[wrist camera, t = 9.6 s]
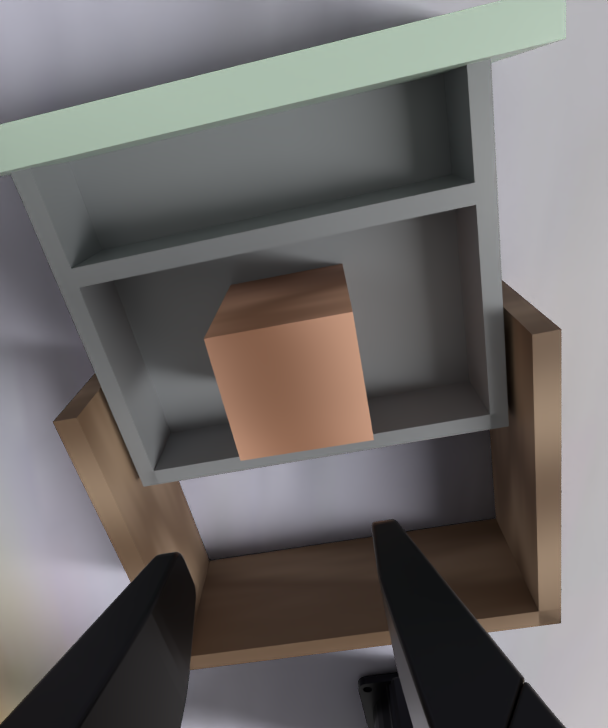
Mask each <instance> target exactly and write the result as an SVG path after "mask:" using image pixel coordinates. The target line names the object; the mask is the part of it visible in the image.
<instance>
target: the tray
mask: <svg viewBox="0 0 608 728" xmlns="http://www.w3.org/2000/svg"><path fill="white" fill-rule="evenodd" d="M563 39H566V0H501V1H497V2H493V3H489V4H485V5H481V6H477V7H473V8H469V9H465V10H461V11H457V12H453V13H449V14H445V15H441V16H437V17H432V18H428V19H424V20H420V21H416V22H412V23H408V24H404V25H400V26H396V27H392V28H388V29H384V30H380V31H376V32H372V33H368V34H364V35H360V36H356V37H352V38H348V39H343V40H339V41H335V42H331V43H327V44H323V45H319V46H315V47H311V48H307V49H303V50H299V51H295V52H291V53H287V54H283V55H279V56H275V57H271V58H267V59H263V60H259V61H254V62H250V63H246V64H242V65H238V66H234V67H230V68H226V69H222V70H218V71H214V72H210V73H206V74H202V75H198V76H194V77H190V78H186V79H182V80H178V81H174V82H170V83H165V84H161V85H157V86H153V87H149V88H145V89H141V90H137V91H133V92H129V93H125V94H121V95H117V96H113V97H109V98H105V99H101V100H97V101H93V102H89V103H85V104H81V105H77V106H72V107H68V108H64V109H60V110H56V111H52V112H48V113H44V114H40V115H36V116H32V117H28V118H24V119H20V120H16V121H12V122H8V123H4V124H0V177H2V176H7V175H11V176H12V179H13V181H14V183H15V186H16V188H17V190H18V193H19V195H20V197H21V200H22V202H23V204H24V207H25V209H26V211H27V214H28V216H29V219H30V221H31V223H32V226H33V228H34V230H35V233H36V235H37V237H38V240H39V242H40V244H41V247H42V249H43V251H44V254H45V256H46V258H47V261H48V263H49V266H50V268H51V270H52V273H53V275H54V277H55V280H56V282H57V284H58V287H59V289H60V291H61V294H62V296H63V298H64V301H65V303H66V305H67V308H68V310H69V313H70V315H71V317H72V320H73V322H74V324H75V327H76V329H77V331H78V334H79V336H80V338H81V341H82V343H83V345H84V348H85V350H86V352H87V355H88V357H89V360H90V362H91V364H92V367H93V369H94V371H95V374H96V376H97V378H98V381H99V383H100V385H101V388H102V390H103V392H104V395H105V397H106V399H107V402H108V404H109V407H110V409H111V411H112V414H113V416H114V418H115V421H116V423H117V425H118V428H119V430H120V432H121V435H122V437H123V439H124V442H125V444H126V446H127V449H128V451H129V454H130V456H131V458H132V461H133V463H134V465H135V468H136V470H137V472H138V475H139V477H140V479H141V482H142V484H143V486H144V487H145V486H151V485H157V484H163V483H169V482H175V481H181V480H187V479H193V478H199V477H205V476H211V475H217V474H224V473H230V472H236V471H242V470H248V469H254V468H260V467H266V466H272V465H278V464H284V463H290V462H296V461H302V460H308V459H314V458H320V457H326V456H332V455H338V454H344V453H350V452H357V451H363V450H369V449H375V448H381V447H387V446H393V445H399V444H405V443H411V442H417V441H423V440H429V439H435V438H441V437H447V436H453V435H459V434H465V433H471V432H477V431H484V430H490V429H496V428H502V427H508V426H509V419H508V398H507V378H506V357H505V337H504V316H503V296H502V275H501V255H500V234H499V214H498V193H497V173H496V152H495V132H494V111H493V91H492V70H491V63H493V62H496V61H499V60H502V59H505V58H508V57H511V56H514V55H517V54H521V53H524V52H527V51H530V50H533V49H536V48H539V47H542V46H545V45H548V44H551V43H554V42H557V41H560V40H563ZM338 264H343V269H344V274H345V278H346V283H347V288H348V292H349V297H350V301H351V306H352V311H353V316H354V322H355V328H356V335H357V341H358V347H359V353H360V359H361V365H362V371H363V377H364V383H365V389H366V395H367V401H368V407H369V413H370V419H371V425H372V431H373V437H374V440H371V441H364V442H358V443H351V444H345V445H339V446H332V447H326V448H319V449H313V450H307V451H300V452H294V453H287V454H281V455H275V456H268V457H262V458H255V459H249V460H243V461H240V457H239V454H238V451H237V447H236V444H235V441H234V437H233V434H232V431H231V427H230V424H229V421H228V417H227V414H226V411H225V408H224V404H223V401H222V398H221V394H220V391H219V388H218V384H217V381H216V378H215V374H214V371H213V368H212V365H211V361H210V358H209V355H208V351H207V348H206V345H205V341H204V337H205V335H206V333H207V331H208V329H209V327H210V325H211V323H212V321H213V319H214V317H215V315H216V313H217V311H218V309H219V307H220V305H221V303H222V301H223V299H224V297H225V295H226V293H227V291H228V289H229V287H230V285H233V284H238V283H244V282H249V281H254V280H259V279H265V278H270V277H275V276H280V275H286V274H291V273H296V272H301V271H307V270H312V269H317V268H322V267H328V266H333V265H338Z"/></svg>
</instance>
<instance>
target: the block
mask: <svg viewBox="0 0 608 728" xmlns="http://www.w3.org/2000/svg"><path fill="white" fill-rule="evenodd" d="M204 341H205V345H206V348H207V351H208V355H209V358H210V361H211V365H212V368H213V371H214V374H215V378H216V381H217V384H218V388H219V391H220V394H221V398H222V401H223V404H224V408H225V411H226V414H227V417H228V421H229V424H230V427H231V431H232V434H233V437H234V441H235V444H236V447H237V451H238V454H239V457H240V461H243V460H249V459H255V458H262V457H268V456H275V455H281V454H287V453H294V452H300V451H307V450H313V449H319V448H326V447H332V446H339V445H345V444H351V443H358V442H364V441H371V440H374V437H373V431H372V425H371V419H370V413H369V407H368V401H367V395H366V389H365V383H364V377H363V371H362V365H361V359H360V353H359V347H358V341H357V335H356V328H355V322H354V316H353V311H352V306H351V301H350V297H349V292H348V288H347V283H346V278H345V274H344V269H343V264H338V265H333V266H328V267H322V268H317V269H312V270H307V271H301V272H296V273H291V274H286V275H280V276H275V277H270V278H265V279H259V280H254V281H249V282H244V283H238V284H233V285H230V287H229V289H228V291H227V293H226V295H225V297H224V299H223V301H222V303H221V305H220V307H219V309H218V311H217V313H216V315H215V317H214V319H213V321H212V323H211V325H210V327H209V329H208V331H207V333H206V335H205V337H204Z"/></svg>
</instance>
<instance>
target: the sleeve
mask: <svg viewBox="0 0 608 728" xmlns="http://www.w3.org/2000/svg"><path fill="white" fill-rule="evenodd" d="M502 296H503V316H504V337H505V357H506V378H507V398H508V419H509V426H508V427H502V428H496V429H490V441H491V455H492V470H493V485H494V500H495V515H496V518H495V519H489V520H482V521H475V522H468V523H461V524H455V525H448V526H441V527H434V528H428V529H421V530H414V531H407V532H406V533H407V534H408V536H409V537H410V538H411V539H412V540H413V542H414V543H415V544H416V545H417V547H418V548H419V549H420V550H421V552H422V553H423V554H424V555H425V556H426V558H427V559H428V560H429V561H430V563H431V564H432V565H433V566H434V568H435V569H436V570H437V571H438V573H439V574H440V575H441V576H442V577H443V579H444V580H445V581H446V582H447V584H448V585H449V586H450V587H451V589H452V590H453V591H454V592H455V593H456V595H457V596H458V597H459V598H460V600H461V601H462V602H463V603H464V605H465V606H466V607H467V608H468V609H469V611H470V612H471V613H472V614H473V616H474V617H475V618H476V619H477V621H478V622H479V623H480V624H481V625H482V627H483V628H484V629H485V630H486V632H495V631H503V630H511V629H519V628H527V627H534V626H542V625H550V624H558V623H561V329H560V328H559V327H558V326H557V325H555V324H554V323H553V322H552V321H551V320H549V319H548V318H547V317H546V316H545V315H543V314H542V313H541V312H540V311H539V310H537V309H536V308H535V307H534V306H533V305H531V304H530V303H529V302H528V301H527V300H525V299H524V298H523V297H522V296H520V295H519V294H518V293H517V292H516V291H514V290H513V289H512V288H511V287H510V286H508V285H507V284H506V283H505V282H504V281H502ZM53 423H54V425H55V427H56V430H57V432H58V434H59V436H60V438H61V440H62V442H63V444H64V446H65V448H66V450H67V452H68V454H69V456H70V458H71V460H72V462H73V464H74V467H75V469H76V471H77V473H78V475H79V477H80V479H81V481H82V483H83V485H84V487H85V489H86V491H87V493H88V495H89V497H90V499H91V502H92V504H93V506H94V508H95V510H96V512H97V514H98V516H99V518H100V520H101V522H102V524H103V526H104V528H105V530H106V532H107V534H108V536H109V539H110V541H111V543H112V545H113V547H114V549H115V551H116V553H117V555H118V557H119V559H120V561H121V563H122V565H123V567H124V569H125V571H126V573H127V576H128V578H129V580H130V582H132V581H133V580H134V579H135V577H136V576H137V575H138V574H139V573H140V572H141V571H142V570H143V569H144V568H145V567H146V566H147V564H148V563H149V562H150V561H151V560H152V559H153V558H154V557H155V556H157V555H159V554H164V553H171V552H179V553H181V554H182V556H183V557H184V560H185V562H186V564H187V567H188V569H189V572H190V574H191V577H192V579H193V581H194V584H195V588H196V606H195V617H194V628H193V639H192V650H191V661H190V670H194V669H202V668H210V667H218V666H226V665H234V664H242V663H250V662H258V661H266V660H273V659H281V658H289V657H297V656H305V655H313V654H321V653H329V652H337V651H345V650H353V649H360V648H368V647H376V646H384V645H392V643H391V638H390V633H389V628H388V623H387V618H386V613H385V608H384V603H383V598H382V593H381V589H380V584H379V578H378V573H377V566H376V558H375V551H374V544H373V537H367V538H360V539H353V540H347V541H340V542H333V543H326V544H320V545H313V546H306V547H299V548H293V549H286V550H279V551H272V552H266V553H259V554H252V555H245V556H239V557H232V558H225V559H218V560H212V561H210V560H209V558H208V555H207V553H206V550H205V548H204V545H203V542H202V540H201V537H200V535H199V532H198V529H197V527H196V524H195V522H194V519H193V517H192V514H191V511H190V509H189V506H188V504H187V501H186V498H185V496H184V493H183V491H182V488H181V486H180V483H179V481H175V482H169V483H163V484H157V485H151V486H145V487H144V486H143V484H142V482H141V479H140V477H139V475H138V472H137V470H136V468H135V465H134V463H133V461H132V458H131V456H130V454H129V451H128V449H127V446H126V444H125V442H124V439H123V437H122V435H121V432H120V430H119V428H118V425H117V423H116V421H115V418H114V416H113V414H112V411H111V409H110V407H109V404H108V402H107V399H106V397H105V395H104V392H103V390H102V388H101V385H100V383H99V381H98V378H97V376H96V374H94V375H93V376H92V377H91V378H90V380H89V381H88V382H87V383H86V384H85V385H84V387H83V388H82V389H81V390H80V391H79V392H78V393H77V395H76V396H75V397H74V398H73V399H72V400H71V402H70V403H69V404H68V405H67V406H66V407H65V409H64V410H63V411H62V412H61V413H60V414H59V415H58V417H57V418H56V419H55V420H54V421H53Z"/></svg>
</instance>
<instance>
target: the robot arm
mask: <svg viewBox="0 0 608 728" xmlns="http://www.w3.org/2000/svg"><path fill="white" fill-rule="evenodd" d="M371 528H372V536H373V544H374V551H375V558H376V566H377V573H378V578H379V584H380V589H381V593H382V598H383V603H384V608H385V613H386V618H387V623H388V628H389V633H390V638H391V643H392V648H393V653H394V658H395V662H396V666H397V670H398V673H392V674H384V675H376V676H367V677H363V678H361V679H359V681H358V688H359V694H360V697H361V701H362V705H363V709H364V713H365V717H366V721H367V724H368V728H566V727H565V726H564V725H563V724H562V723H561V722H560V720H559V719H558V718H557V717H556V716H555V715H554V713H553V712H552V711H551V710H550V709H549V708H548V706H547V705H546V704H545V703H544V701H543V700H542V699H541V698H540V696H539V695H538V694H537V693H536V692H535V690H534V689H533V688H532V687H531V685H530V684H529V683H527V682H524V677H523V676H522V675H521V673H520V672H519V671H518V670H517V669H516V667H515V666H514V665H513V664H512V662H511V661H510V660H509V659H508V657H507V656H506V655H505V654H504V653H503V651H502V650H501V649H500V648H499V646H498V645H497V644H496V643H495V641H494V640H493V639H492V638H491V637H490V635H489V634H488V633H487V632H486V630H485V629H484V628H483V627H482V625H481V624H480V623H479V622H478V621H477V619H476V618H475V617H474V616H473V614H472V613H471V612H470V611H469V609H468V608H467V607H466V606H465V605H464V603H463V602H462V601H461V600H460V598H459V597H458V596H457V595H456V593H455V592H454V591H453V590H452V589H451V587H450V586H449V585H448V584H447V582H446V581H445V580H444V579H443V577H442V576H441V575H440V574H439V573H438V571H437V570H436V569H435V568H434V566H433V565H432V564H431V563H430V561H429V560H428V559H427V558H426V556H425V555H424V554H423V553H422V552H421V550H420V549H419V548H418V547H417V545H416V544H415V543H414V542H413V540H412V539H411V538H410V537H409V536H408V534H407V533H406V532H405V531H404V529H403V528H402V527H401V526H400V524H399V523H398V522H397V521H396V520H393V519H391V520H384V521H377V522H373V523H372V525H371ZM195 606H196V588H195V584H194V581H193V579H192V577H191V574H190V572H189V569H188V567H187V564H186V562H185V560H184V557H183V556H182V554H181V553H179V552H171V553H164V554H159V555H157V556H155V557H154V558H153V559H152V560H151V561H150V562H149V563H148V564H147V566H146V567H145V568H144V569H143V570H142V571H141V572H140V573H139V574H138V575H137V576H136V577H135V579H134V580H133V581H132V582H131V583H130V584H129V585H128V586H127V587H126V588H125V589H124V591H123V592H122V593H121V594H120V595H119V596H118V597H117V598H116V599H115V600H114V601H113V602H112V604H111V605H110V606H109V607H108V608H107V609H106V610H105V611H104V612H103V613H102V614H101V616H100V617H99V618H98V619H97V620H96V621H95V622H94V623H93V624H92V625H91V626H90V627H89V629H88V630H87V631H86V632H85V633H84V634H83V635H82V636H81V637H80V638H79V639H78V641H77V642H76V643H75V644H74V645H73V646H72V647H71V648H70V649H69V650H68V651H67V652H66V654H65V655H64V656H63V657H62V658H61V659H60V660H59V661H58V662H57V663H56V664H55V666H54V667H53V668H52V669H51V670H50V671H49V672H48V673H47V674H46V675H45V676H44V677H43V679H42V680H41V681H40V682H39V683H38V684H37V685H36V686H35V687H34V688H33V689H32V691H31V692H30V693H29V694H28V695H27V696H26V697H25V698H24V699H23V700H22V701H21V702H20V704H19V705H18V706H17V707H16V708H15V709H14V710H13V711H12V712H11V713H10V714H9V716H8V717H7V718H6V719H5V720H4V721H3V722H2V723H1V724H0V728H181V722H182V717H183V712H184V707H185V701H186V695H187V689H188V681H189V672H190V661H191V650H192V639H193V628H194V617H195Z"/></svg>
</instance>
